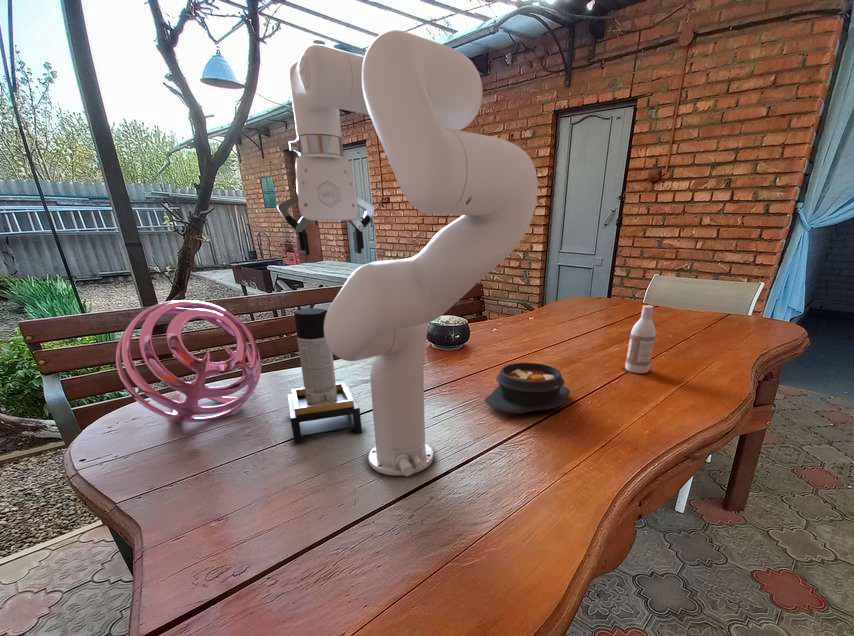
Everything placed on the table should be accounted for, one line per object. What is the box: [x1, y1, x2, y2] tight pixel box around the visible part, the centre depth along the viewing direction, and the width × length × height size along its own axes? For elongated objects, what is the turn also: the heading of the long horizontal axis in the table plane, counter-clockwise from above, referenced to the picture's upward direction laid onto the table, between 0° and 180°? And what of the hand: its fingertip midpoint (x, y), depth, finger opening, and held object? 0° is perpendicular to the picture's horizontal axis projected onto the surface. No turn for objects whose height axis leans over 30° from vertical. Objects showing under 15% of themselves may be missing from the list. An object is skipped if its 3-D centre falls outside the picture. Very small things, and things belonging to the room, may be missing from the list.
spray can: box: [293, 307, 337, 405], centre depth 90 cm, size 7×7×20 cm
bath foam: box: [624, 304, 657, 374], centre depth 129 cm, size 7×7×20 cm
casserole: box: [484, 362, 571, 414], centre depth 108 cm, size 25×19×8 cm
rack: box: [286, 382, 363, 445], centre depth 95 cm, size 14×14×8 cm
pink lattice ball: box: [115, 299, 262, 423], centre depth 98 cm, size 28×28×27 cm
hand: (333, 253), depth 81 cm, fingers open, 9 cm apart
